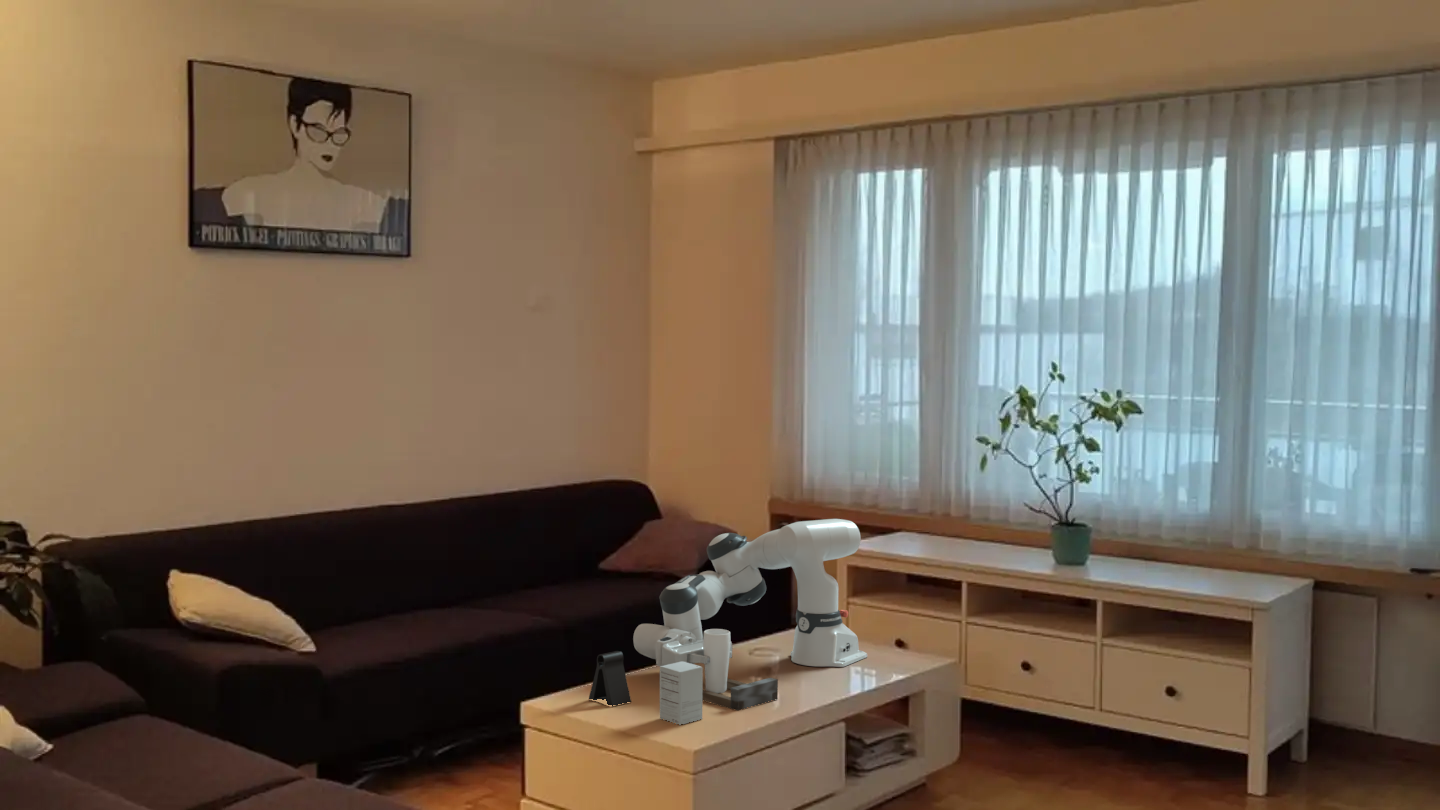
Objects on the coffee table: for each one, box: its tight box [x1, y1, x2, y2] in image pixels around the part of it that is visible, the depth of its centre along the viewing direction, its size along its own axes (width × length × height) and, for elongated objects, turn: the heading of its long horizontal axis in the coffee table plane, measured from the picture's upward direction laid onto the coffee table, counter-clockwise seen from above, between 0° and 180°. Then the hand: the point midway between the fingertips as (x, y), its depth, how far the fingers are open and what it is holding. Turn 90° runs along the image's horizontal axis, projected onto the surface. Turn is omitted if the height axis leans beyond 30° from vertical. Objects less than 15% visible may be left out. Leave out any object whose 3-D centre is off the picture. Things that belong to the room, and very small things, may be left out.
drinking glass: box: [703, 628, 732, 694], centre depth 338 cm, size 7×7×15 cm
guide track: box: [702, 677, 779, 711], centre depth 336 cm, size 14×22×5 cm, turn 45°
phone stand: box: [588, 650, 632, 706], centre depth 330 cm, size 9×6×12 cm, turn 44°
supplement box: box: [659, 661, 704, 726], centre depth 316 cm, size 7×7×13 cm
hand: (719, 657), depth 337 cm, fingers closed on drinking glass, 6 cm apart
